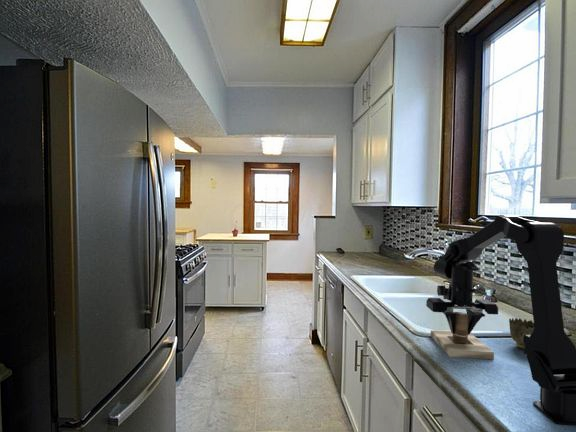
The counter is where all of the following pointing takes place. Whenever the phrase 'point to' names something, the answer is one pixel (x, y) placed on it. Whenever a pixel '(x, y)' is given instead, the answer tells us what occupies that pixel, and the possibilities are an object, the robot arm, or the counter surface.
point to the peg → (461, 328)
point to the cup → (520, 330)
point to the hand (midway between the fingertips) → (460, 333)
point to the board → (462, 346)
